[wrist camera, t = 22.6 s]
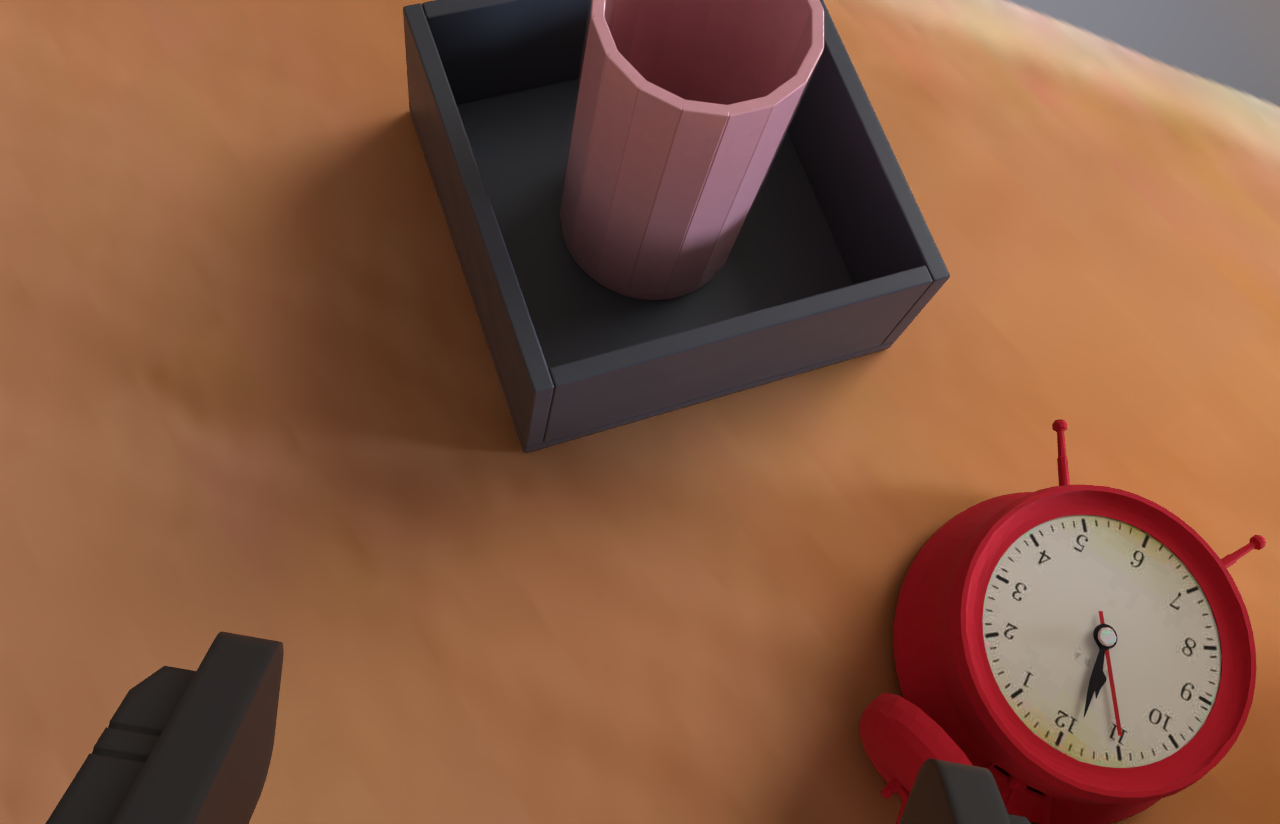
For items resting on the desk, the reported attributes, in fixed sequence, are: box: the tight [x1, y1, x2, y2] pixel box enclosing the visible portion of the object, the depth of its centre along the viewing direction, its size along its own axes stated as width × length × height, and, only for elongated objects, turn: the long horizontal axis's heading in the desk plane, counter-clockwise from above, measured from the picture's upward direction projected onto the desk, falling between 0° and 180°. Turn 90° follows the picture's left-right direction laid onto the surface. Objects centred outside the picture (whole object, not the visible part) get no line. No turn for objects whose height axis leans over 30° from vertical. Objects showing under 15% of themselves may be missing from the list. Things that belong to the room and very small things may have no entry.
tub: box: [403, 0, 950, 453], centre depth 40 cm, size 13×13×6 cm
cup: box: [559, 0, 824, 300], centre depth 37 cm, size 6×6×11 cm
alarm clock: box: [859, 420, 1266, 824], centre depth 36 cm, size 10×6×15 cm
